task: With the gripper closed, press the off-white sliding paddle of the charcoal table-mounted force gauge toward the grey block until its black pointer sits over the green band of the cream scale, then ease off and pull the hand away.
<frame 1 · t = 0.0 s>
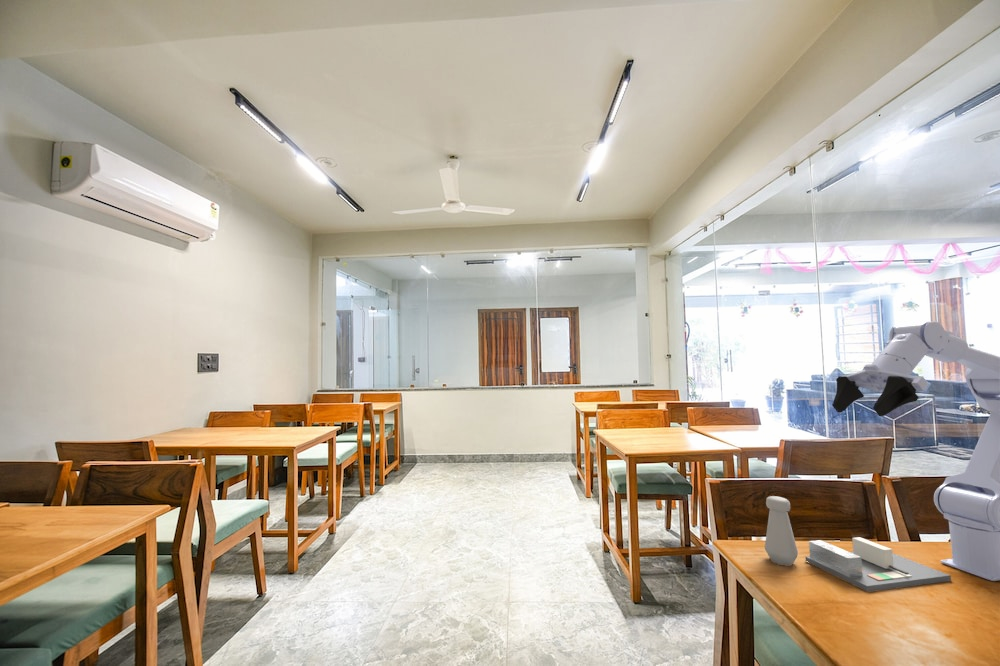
hand: (856, 410, 79), 32 cm above the table, tool tilted 50°, fingers open, 7 cm apart
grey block: (835, 572, 81), resting on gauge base
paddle: (880, 555, 81), point 3 cm above the table, slide at 0.0 cm
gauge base: (875, 570, 81), on the table
salt shaker: (781, 562, 85), on the table
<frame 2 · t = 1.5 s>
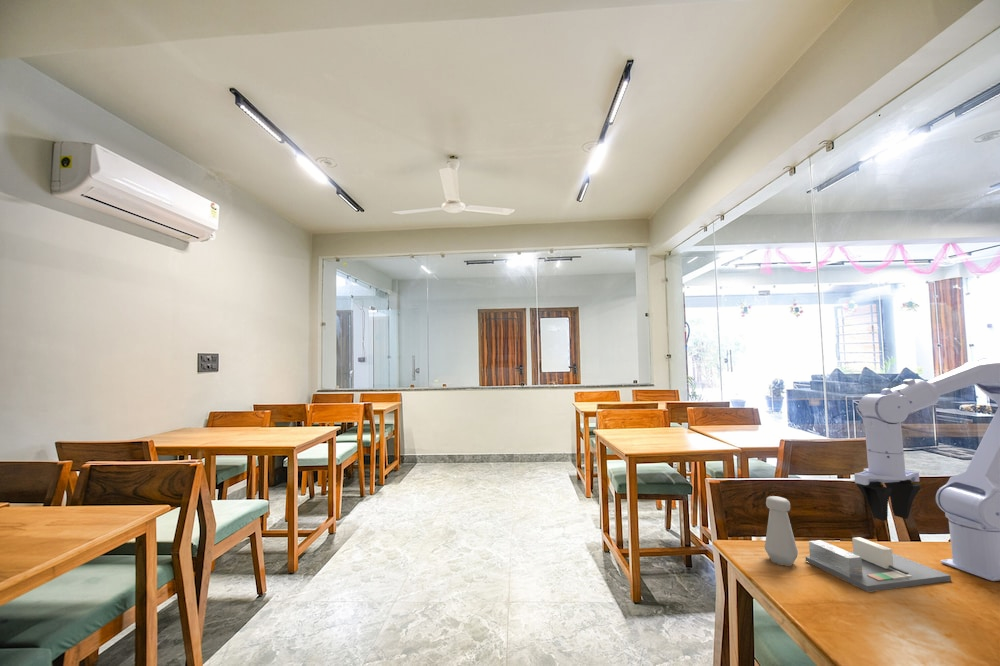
hand: (890, 518, 84), 9 cm above the table, tool pointing down, fingers open, 5 cm apart
nothing on the table moved.
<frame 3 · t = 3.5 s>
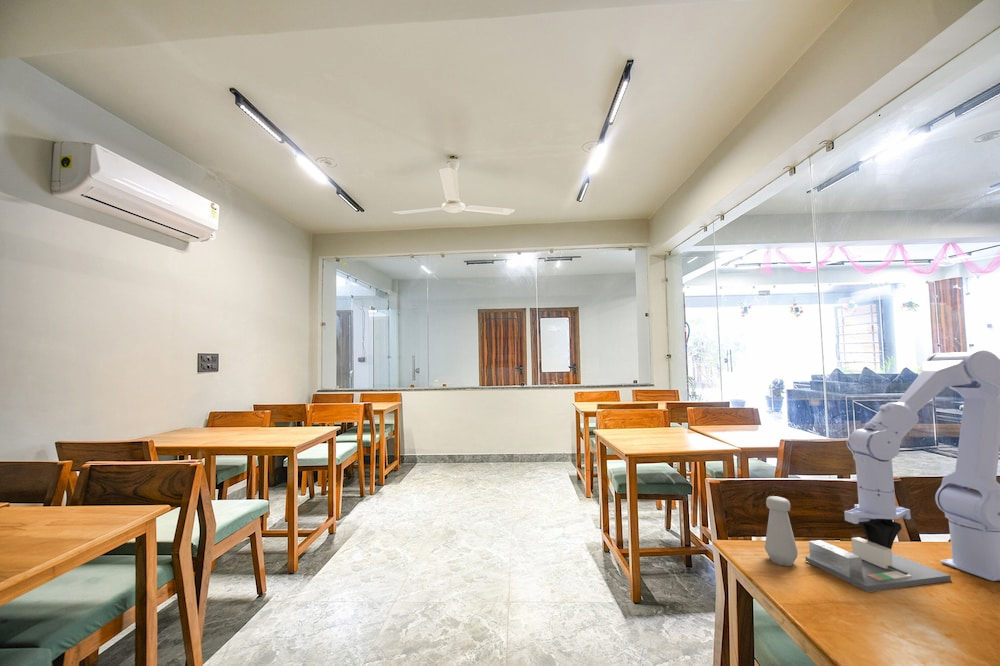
hand: (881, 556, 83), 2 cm above the table, tool pointing down, fingers closed
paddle: (879, 555, 81), point 3 cm above the table, slide at 0.2 cm, touching gripper
everything else where it was.
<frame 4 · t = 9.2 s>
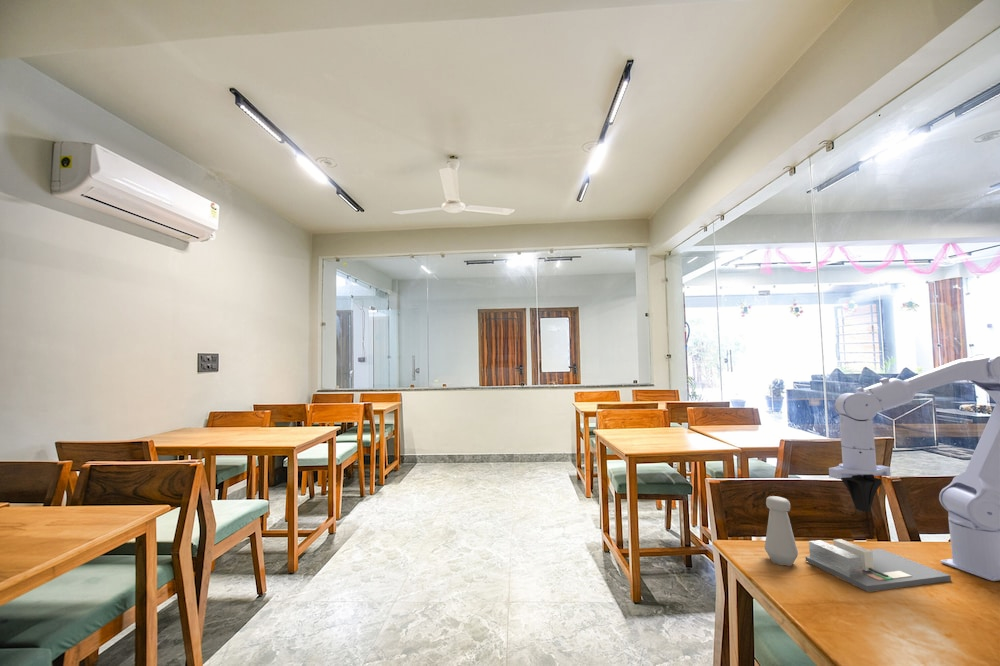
hand: (862, 510, 89), 9 cm above the table, tool pointing down, fingers closed
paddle: (860, 557, 80), point 3 cm above the table, slide at 4.9 cm
everything else where it was.
at the end: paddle slide at 4.9 cm; salt shaker moved 0.2 cm from its start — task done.
